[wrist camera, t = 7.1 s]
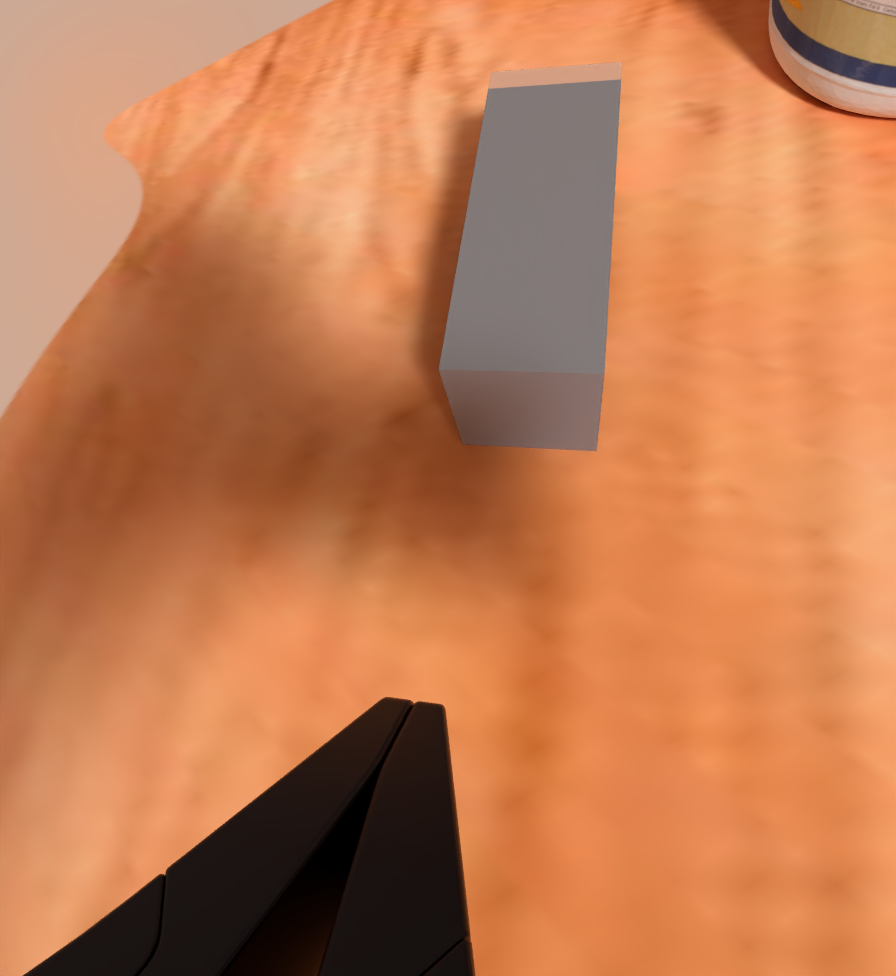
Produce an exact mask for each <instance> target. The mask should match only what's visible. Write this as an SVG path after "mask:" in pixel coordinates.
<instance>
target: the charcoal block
mask: <svg viewBox="0 0 896 976" xmlns="http://www.w3.org/2000/svg"><path fill="white" fill-rule="evenodd" d="M621 72H622V62H614V63H601V64H588V65H575V66H562V67H548V68H535V69H522V70H509V71H496V72H491V77H490V82H489V88H488V94H487V99H486V105H485V110H484V116H483V122H482V127H481V133H480V139H479V144H478V150H477V156H476V161H475V167H474V172H473V178H472V184H471V189H470V195H469V201H468V206H467V212H466V218H465V223H464V229H463V234H462V240H461V246H460V251H459V257H458V263H457V268H456V274H455V280H454V285H453V291H452V296H451V302H450V308H449V313H448V319H447V325H446V330H445V336H444V342H443V347H442V353H441V358H440V364H439V372H440V376H441V379H442V382H443V385H444V388H445V391H446V394H447V398H448V401H449V404H450V407H451V410H452V413H453V417H454V420H455V423H456V426H457V429H458V432H459V435H460V439H461V442H462V444H467V445H486V446H506V447H526V448H545V449H565V450H585V451H597V442H598V432H599V422H600V412H601V402H602V392H603V382H604V370H605V353H606V335H607V318H608V300H609V283H610V265H611V247H612V230H613V212H614V195H615V177H616V160H617V142H618V125H619V107H620V89H621Z"/></svg>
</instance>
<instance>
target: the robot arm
mask: <svg viewBox="0 0 896 976" xmlns="http://www.w3.org/2000/svg"><path fill="white" fill-rule="evenodd" d="M23 976H475V968H474V959H473V950H472V943H471V939H470V926H469V917H468V908H467V899H466V890H465V881H464V872H463V863H462V854H461V845H460V836H459V827H458V818H457V809H456V800H455V791H454V782H453V773H452V764H451V755H450V746H449V737H448V728H447V719H446V711H445V707H444V706H443V705H441V704H436V703H428V702H421V701H418V702H416V703H415V704H414V703H413V702H412V701H411V700H406V699H399V698H392V697H385V698H383V699H381V700H380V701H378V702H377V703H376V704H375V705H373V706H372V707H371V708H370V709H368V710H367V711H366V712H365V713H363V714H362V715H361V716H359V717H358V718H357V719H356V720H354V721H353V722H352V723H351V724H349V725H348V726H347V727H346V728H344V729H343V730H342V731H340V732H339V733H338V734H337V735H335V736H334V737H333V738H332V739H330V740H329V741H328V742H327V743H325V744H324V745H323V746H322V747H320V748H319V749H318V750H316V751H315V752H314V753H313V754H311V755H310V756H309V757H308V758H306V759H305V760H304V761H303V762H301V763H300V764H299V765H297V766H296V767H295V768H294V769H292V770H291V771H290V772H289V773H287V774H286V775H285V776H284V777H282V778H281V779H280V780H278V781H277V782H276V783H275V784H273V785H272V786H271V787H270V788H268V789H267V790H266V791H265V792H263V793H262V794H261V795H260V796H258V797H257V798H256V799H254V800H253V801H252V802H251V803H249V804H248V805H247V806H246V807H244V808H243V809H242V810H241V811H239V812H238V813H237V814H235V815H234V816H233V817H232V818H230V819H229V820H228V821H227V822H225V823H224V824H223V825H222V826H220V827H219V828H218V829H216V830H215V831H214V832H213V833H211V834H210V835H209V836H208V837H206V838H205V839H204V840H203V841H201V842H200V843H199V844H198V845H196V846H195V847H194V848H192V849H191V850H190V851H189V852H187V853H186V854H185V855H184V856H182V857H181V858H180V859H179V860H177V861H176V862H175V863H173V864H172V865H171V866H170V867H168V868H167V870H166V874H165V875H164V874H159V875H158V876H157V877H155V878H154V879H153V880H152V881H150V882H149V883H148V884H147V885H145V886H144V887H143V888H141V889H140V890H139V891H138V892H136V893H135V894H134V895H133V896H131V897H130V898H129V899H127V900H126V901H125V902H123V903H122V904H121V905H120V906H118V907H117V908H116V909H114V910H113V911H112V912H110V913H109V914H108V915H106V916H105V917H104V918H102V919H101V920H100V921H98V922H97V923H96V924H94V925H93V926H92V927H91V928H89V929H88V930H87V931H85V932H84V933H83V934H81V935H80V936H79V937H77V938H76V939H74V940H73V941H71V942H70V943H69V944H67V945H66V946H64V947H63V948H61V949H60V950H59V951H57V952H56V953H54V954H53V955H52V956H50V957H49V958H47V959H46V960H44V961H43V962H42V963H40V964H39V965H37V966H36V967H34V968H33V969H32V970H30V971H29V972H27V973H26V974H24V975H23Z"/></svg>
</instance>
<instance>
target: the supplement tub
mask: <svg viewBox="0 0 896 976" xmlns="http://www.w3.org/2000/svg"><path fill="white" fill-rule="evenodd" d="M768 23H769V36H770V42H771V45H772V49H773V52H774V54H775V57H776V59H777V61H778V62H779V64H780V65H781V67H782V69H783V70H784V72H785V73H786V74H787V75H788V76H789V77H790V78H791V79H792V80H793V82H795V83H796V84H797V85H798V86H799V87H801V88H802V89H803V90H804V91H806V92H807V93H809V94H810V95H812V96H814V97H815V98H817V99H819V100H821V101H823V102H825V103H827V104H829V105H831V106H834V107H837V108H840V109H843V110H847V111H851V112H855V113H859V114H863V115H870V116H876V117H886V118H896V0H770V6H769V20H768Z"/></svg>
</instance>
